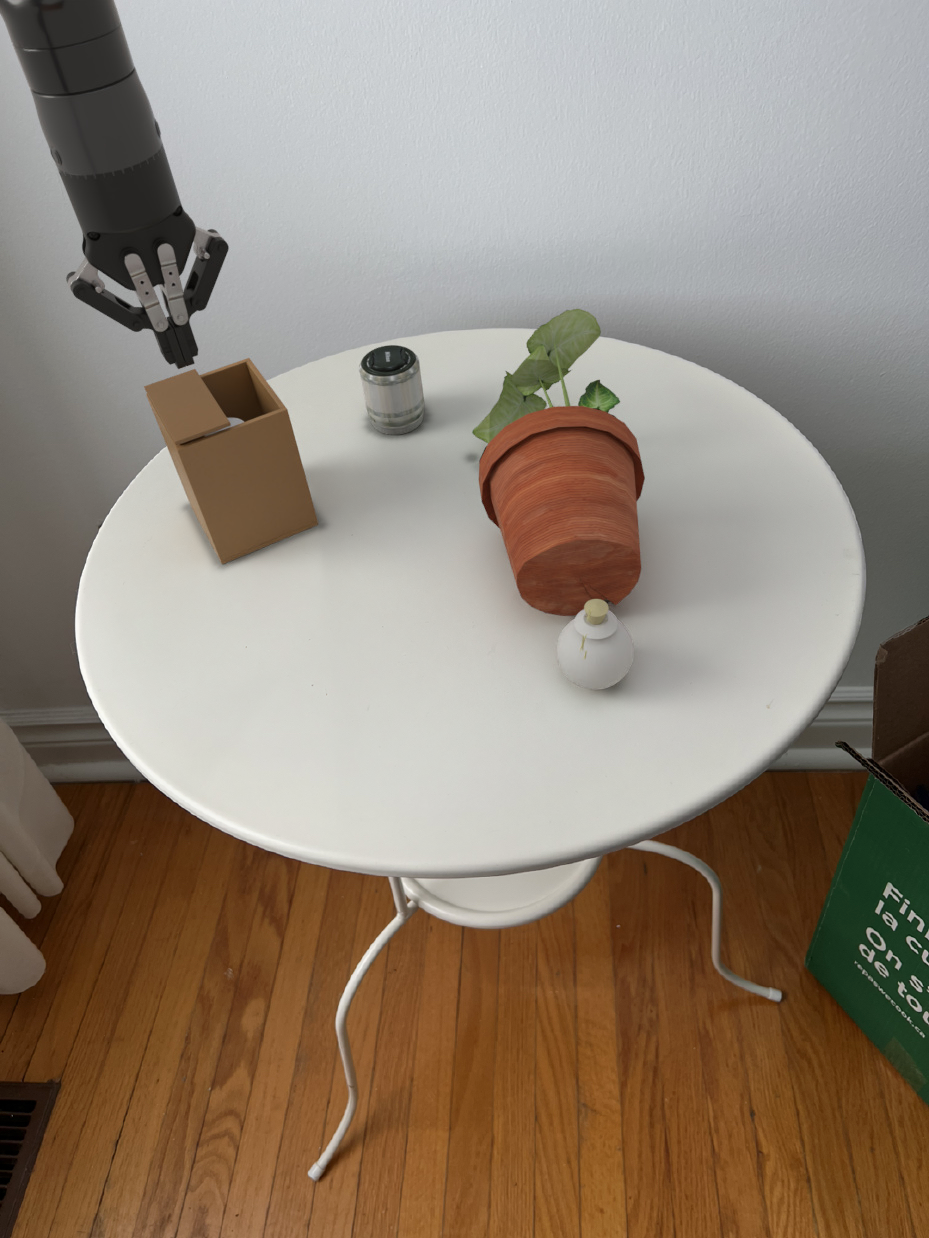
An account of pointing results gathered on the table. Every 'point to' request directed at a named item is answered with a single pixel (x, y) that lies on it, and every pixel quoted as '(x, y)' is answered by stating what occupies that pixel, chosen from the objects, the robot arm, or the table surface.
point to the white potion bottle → (595, 647)
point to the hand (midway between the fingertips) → (183, 362)
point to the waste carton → (244, 467)
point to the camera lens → (392, 389)
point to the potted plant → (562, 478)
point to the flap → (186, 407)
